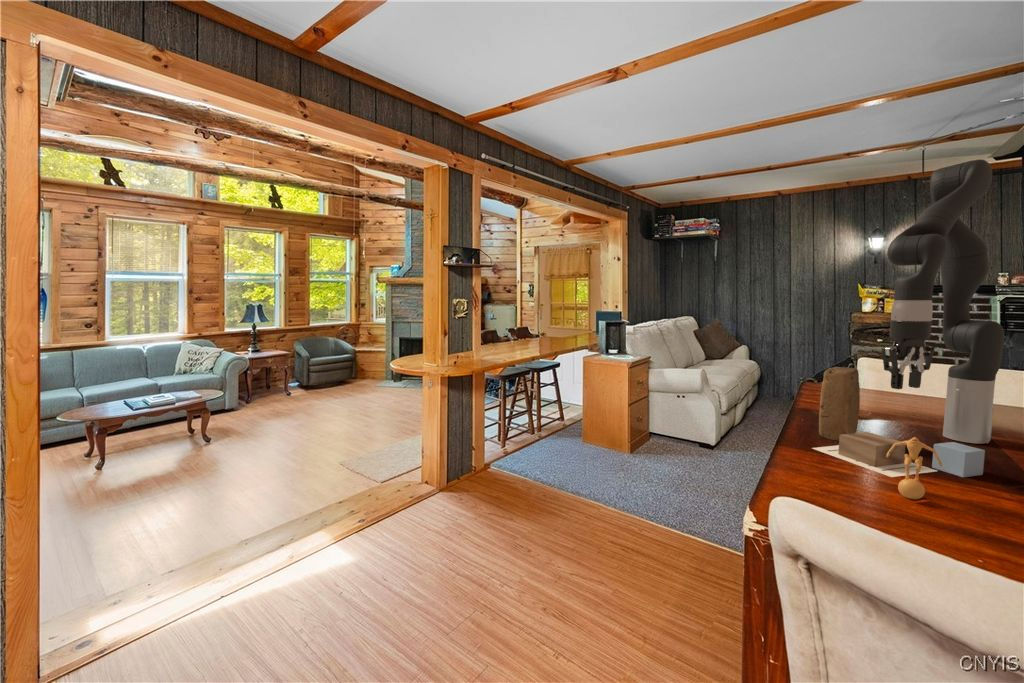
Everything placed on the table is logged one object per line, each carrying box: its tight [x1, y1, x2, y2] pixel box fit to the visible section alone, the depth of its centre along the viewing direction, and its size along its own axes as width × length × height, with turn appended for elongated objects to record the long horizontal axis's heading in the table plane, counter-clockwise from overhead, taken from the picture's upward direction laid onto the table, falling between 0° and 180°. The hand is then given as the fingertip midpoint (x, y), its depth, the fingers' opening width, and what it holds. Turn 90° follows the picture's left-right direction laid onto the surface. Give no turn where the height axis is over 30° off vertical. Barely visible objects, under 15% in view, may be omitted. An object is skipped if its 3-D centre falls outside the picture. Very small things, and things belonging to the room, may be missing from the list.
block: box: [818, 366, 861, 442], centre depth 128 cm, size 11×8×20 cm
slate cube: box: [931, 441, 986, 478], centre depth 103 cm, size 6×6×6 cm
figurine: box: [886, 436, 942, 500], centre depth 90 cm, size 8×6×12 cm
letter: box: [811, 444, 938, 478], centre depth 111 cm, size 14×20×1 cm
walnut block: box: [838, 431, 907, 467], centre depth 111 cm, size 9×9×5 cm
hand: (905, 387), depth 112 cm, fingers open, 5 cm apart
